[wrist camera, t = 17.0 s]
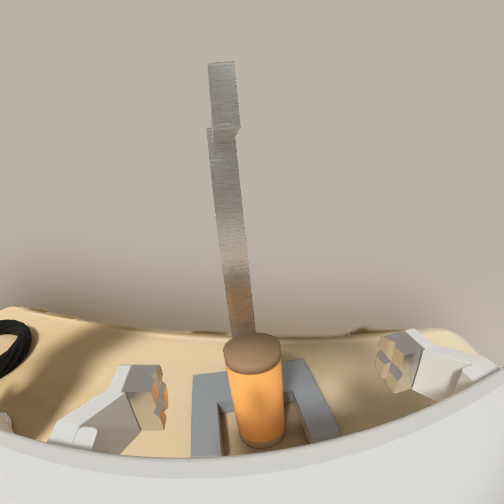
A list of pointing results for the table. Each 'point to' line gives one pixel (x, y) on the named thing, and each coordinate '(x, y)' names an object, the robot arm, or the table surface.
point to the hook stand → (229, 195)
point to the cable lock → (14, 344)
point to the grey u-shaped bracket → (220, 401)
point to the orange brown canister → (256, 388)
